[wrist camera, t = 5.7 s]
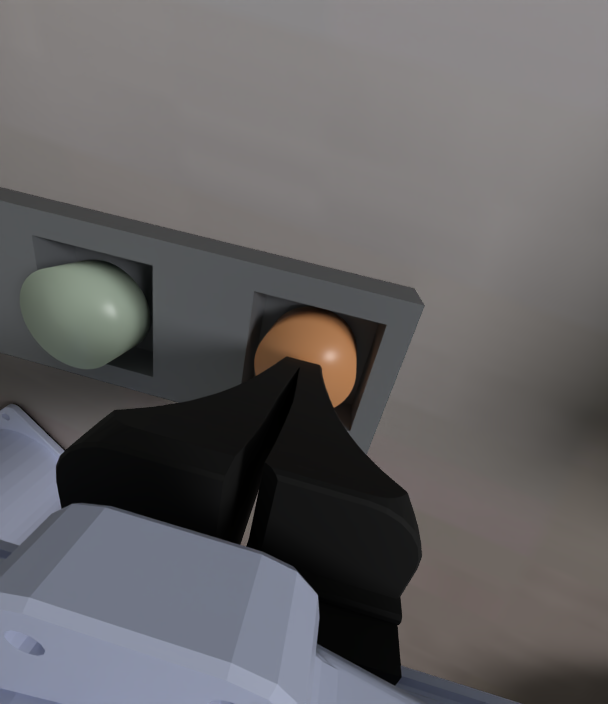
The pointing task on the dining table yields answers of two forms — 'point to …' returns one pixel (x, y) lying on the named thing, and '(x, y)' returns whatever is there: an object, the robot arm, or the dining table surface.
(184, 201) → the dining table surface
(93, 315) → the sage button
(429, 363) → the dining table surface
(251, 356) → the button panel
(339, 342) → the orange button
